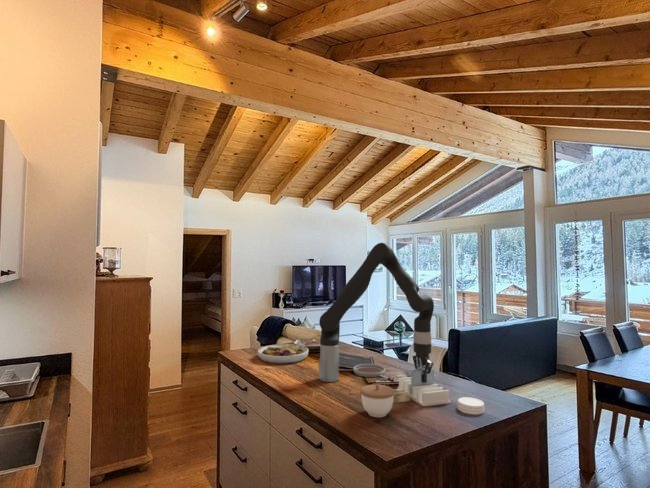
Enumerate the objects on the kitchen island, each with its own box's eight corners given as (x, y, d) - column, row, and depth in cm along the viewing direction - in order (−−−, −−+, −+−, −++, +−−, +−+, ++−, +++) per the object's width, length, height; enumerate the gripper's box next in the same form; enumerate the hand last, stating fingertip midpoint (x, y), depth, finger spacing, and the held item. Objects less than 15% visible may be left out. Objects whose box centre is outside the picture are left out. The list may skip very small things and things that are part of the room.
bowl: (254, 354, 241) (254, 341, 241) (301, 350, 250) (301, 338, 250) (261, 367, 212) (261, 352, 212) (314, 362, 221) (314, 348, 221)
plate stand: (384, 404, 158) (384, 396, 158) (376, 397, 166) (376, 390, 166) (411, 400, 162) (410, 393, 162) (401, 394, 169) (401, 387, 170)
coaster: (460, 403, 160) (460, 395, 160) (486, 408, 154) (486, 399, 155) (455, 412, 151) (454, 402, 151) (482, 417, 146) (482, 407, 146)
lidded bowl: (372, 404, 157) (372, 377, 158) (400, 412, 149) (399, 383, 150) (354, 414, 148) (354, 385, 148) (383, 423, 140) (383, 392, 140)
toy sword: (382, 381, 181) (346, 366, 204) (382, 387, 181) (346, 371, 204) (408, 375, 191) (370, 361, 214) (408, 381, 191) (370, 366, 214)
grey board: (413, 395, 166) (413, 371, 166) (411, 393, 168) (411, 370, 168) (433, 392, 169) (433, 369, 169) (431, 391, 171) (431, 368, 171)
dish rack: (422, 406, 156) (422, 393, 156) (397, 389, 176) (397, 377, 177) (450, 403, 160) (450, 390, 160) (422, 386, 180) (422, 375, 180)
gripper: (406, 338, 174) (406, 377, 174) (423, 345, 161) (423, 387, 161) (421, 337, 177) (421, 376, 176) (438, 344, 163) (439, 385, 163)
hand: (422, 381), depth 168 cm, fingers closed on grey board, 2 cm apart
